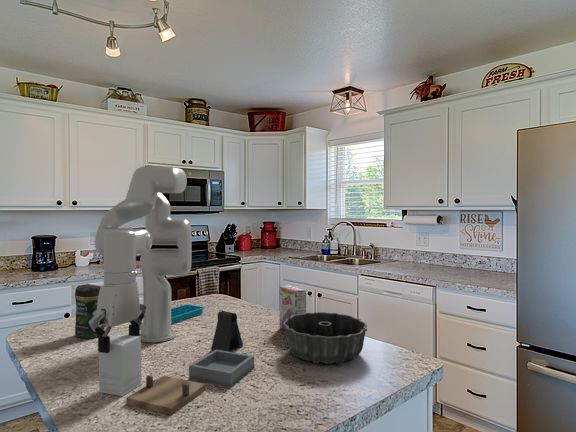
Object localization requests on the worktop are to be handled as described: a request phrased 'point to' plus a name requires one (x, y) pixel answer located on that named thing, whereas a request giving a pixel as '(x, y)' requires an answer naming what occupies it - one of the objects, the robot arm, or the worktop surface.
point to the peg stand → (165, 394)
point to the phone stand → (227, 333)
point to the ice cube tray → (185, 312)
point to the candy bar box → (291, 302)
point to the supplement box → (120, 365)
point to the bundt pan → (325, 336)
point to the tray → (221, 367)
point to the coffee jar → (85, 309)
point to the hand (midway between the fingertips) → (119, 346)
